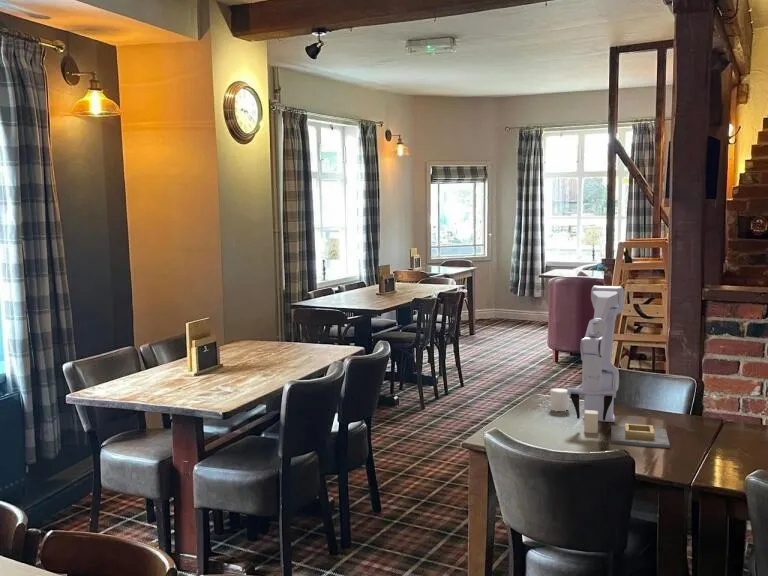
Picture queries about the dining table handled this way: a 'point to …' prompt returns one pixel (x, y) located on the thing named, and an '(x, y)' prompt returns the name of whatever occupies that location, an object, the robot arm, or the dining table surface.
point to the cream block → (591, 421)
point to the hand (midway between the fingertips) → (591, 418)
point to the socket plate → (639, 436)
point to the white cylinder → (559, 399)
